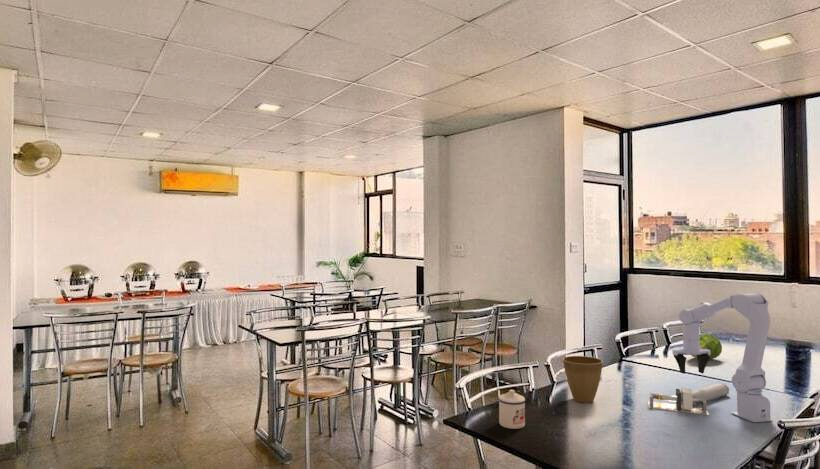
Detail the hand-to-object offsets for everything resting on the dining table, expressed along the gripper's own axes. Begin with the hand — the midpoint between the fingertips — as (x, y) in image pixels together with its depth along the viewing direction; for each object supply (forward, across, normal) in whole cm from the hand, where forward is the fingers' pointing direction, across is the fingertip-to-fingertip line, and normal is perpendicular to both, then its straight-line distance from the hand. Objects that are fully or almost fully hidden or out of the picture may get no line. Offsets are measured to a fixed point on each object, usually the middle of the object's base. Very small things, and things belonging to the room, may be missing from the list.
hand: (691, 372), depth 193 cm
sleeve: (+10, +11, +14) cm, 20 cm away
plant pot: (+10, +45, +2) cm, 46 cm away
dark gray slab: (+10, +13, +12) cm, 21 cm away
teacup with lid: (+10, +78, +26) cm, 83 cm away
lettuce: (+10, -42, -60) cm, 75 cm away
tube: (+10, -4, +3) cm, 11 cm away
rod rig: (+10, +14, +12) cm, 21 cm away
